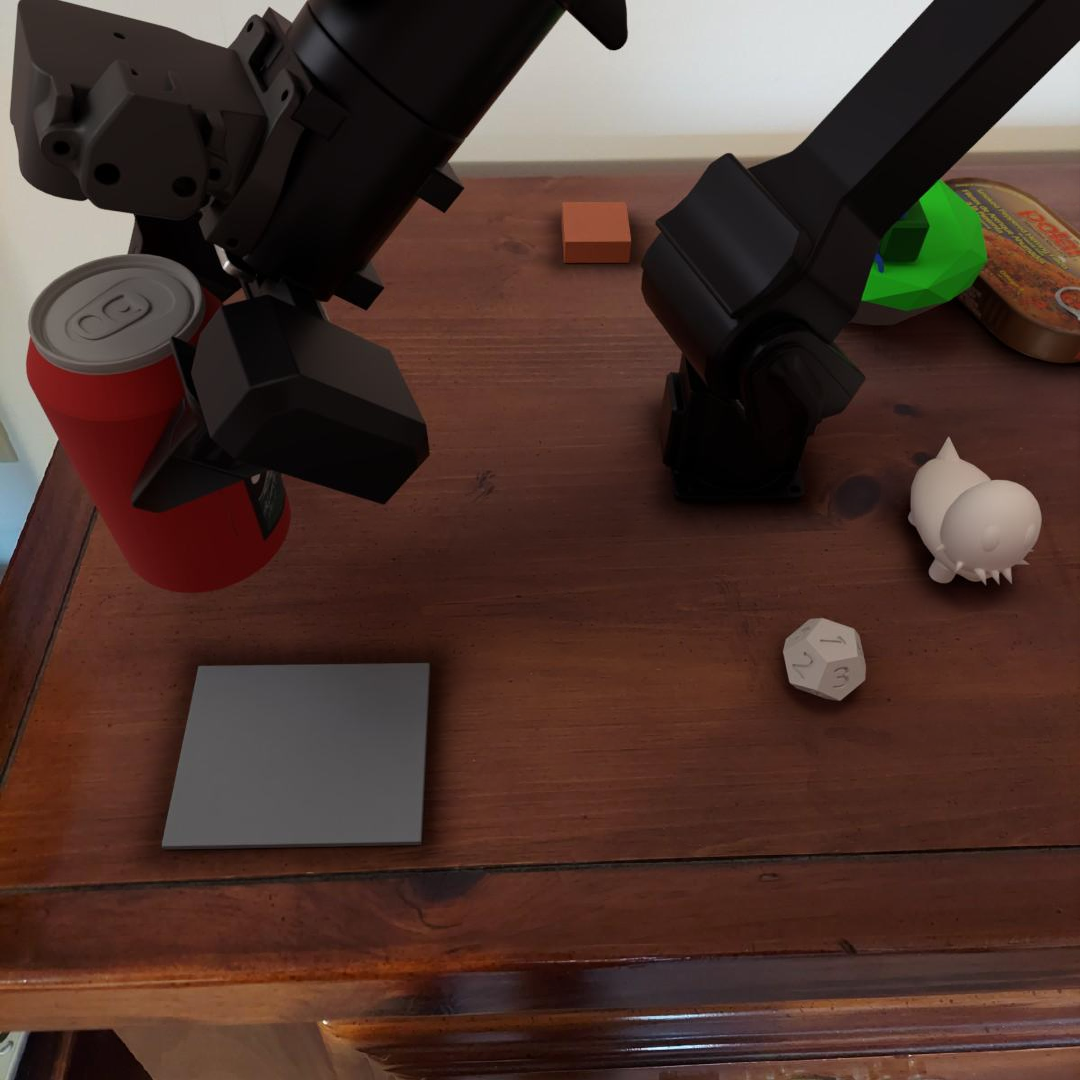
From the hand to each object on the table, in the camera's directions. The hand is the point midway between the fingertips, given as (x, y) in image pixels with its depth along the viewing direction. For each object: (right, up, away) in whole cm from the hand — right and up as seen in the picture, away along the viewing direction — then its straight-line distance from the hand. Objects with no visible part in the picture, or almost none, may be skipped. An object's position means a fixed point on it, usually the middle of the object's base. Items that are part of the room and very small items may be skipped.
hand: (126, 435), depth 36 cm
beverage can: (+1, -4, +6) cm, 7 cm away
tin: (+39, +11, +23) cm, 47 cm away
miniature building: (+33, +11, +24) cm, 42 cm away
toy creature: (+34, -4, +13) cm, 37 cm away
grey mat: (+5, -13, +6) cm, 15 cm away
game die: (+27, -10, +9) cm, 30 cm away
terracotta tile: (+18, +15, +27) cm, 36 cm away
